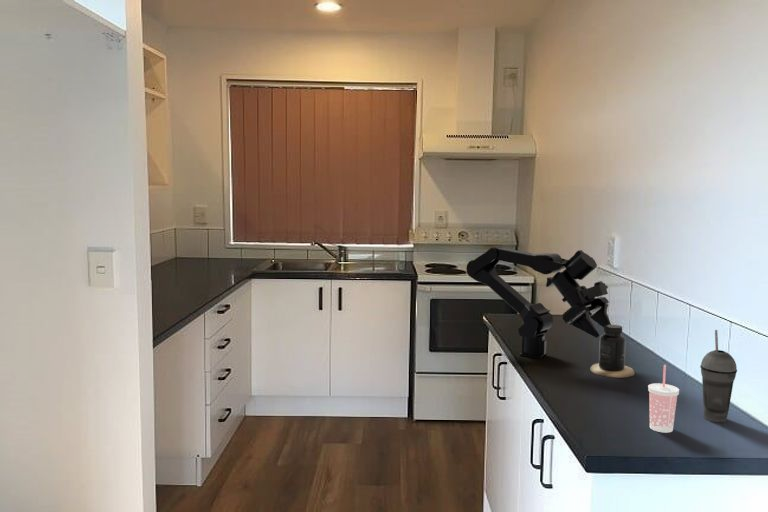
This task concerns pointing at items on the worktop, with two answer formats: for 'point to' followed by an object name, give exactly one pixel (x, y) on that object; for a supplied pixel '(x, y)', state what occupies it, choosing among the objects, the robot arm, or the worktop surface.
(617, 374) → the coaster
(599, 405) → the worktop surface
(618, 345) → the supplement bottle
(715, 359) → the beverage cup
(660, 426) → the beverage cup
